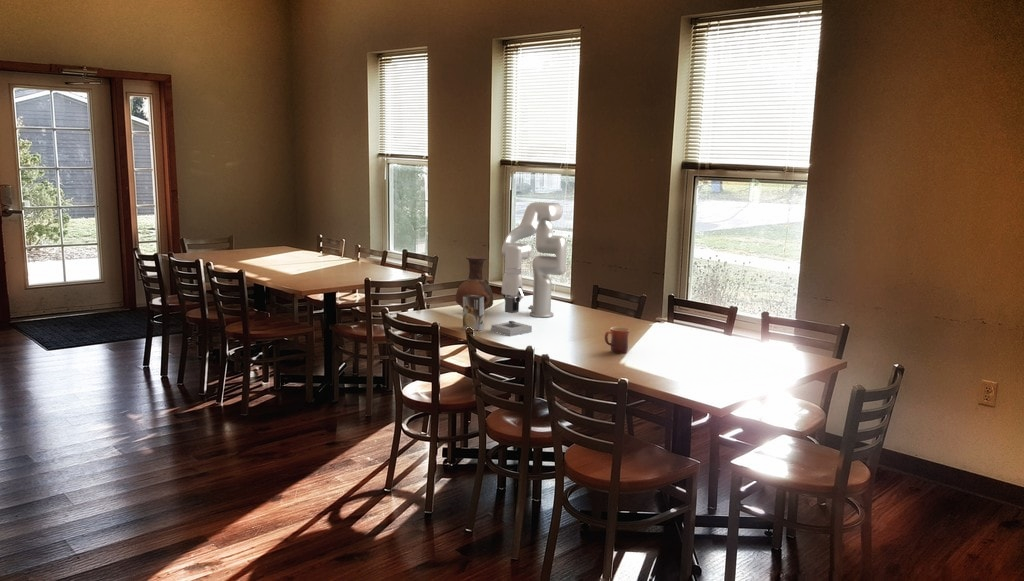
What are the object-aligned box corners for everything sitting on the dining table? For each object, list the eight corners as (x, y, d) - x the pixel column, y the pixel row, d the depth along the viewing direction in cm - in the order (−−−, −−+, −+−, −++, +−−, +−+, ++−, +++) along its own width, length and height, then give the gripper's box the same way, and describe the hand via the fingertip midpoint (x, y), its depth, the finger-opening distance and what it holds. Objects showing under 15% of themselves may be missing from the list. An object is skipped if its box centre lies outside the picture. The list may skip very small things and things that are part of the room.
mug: (621, 348, 350) (622, 326, 348) (633, 353, 342) (634, 330, 340) (598, 351, 344) (599, 328, 342) (610, 356, 337) (611, 332, 335)
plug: (504, 311, 375) (505, 296, 374) (511, 310, 378) (512, 295, 377) (511, 313, 372) (512, 297, 371) (518, 312, 375) (519, 296, 374)
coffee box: (484, 328, 382) (485, 295, 380) (479, 331, 377) (480, 297, 374) (467, 326, 386) (468, 294, 383) (461, 329, 380) (462, 296, 377)
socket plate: (491, 331, 377) (491, 323, 377) (512, 327, 387) (512, 320, 386) (510, 336, 368) (510, 328, 367) (531, 332, 378) (531, 324, 377)
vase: (504, 315, 414) (505, 258, 409) (474, 320, 401) (475, 261, 396) (473, 308, 432) (474, 253, 427) (444, 312, 419) (445, 255, 414)
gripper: (495, 269, 376) (493, 307, 379) (520, 274, 364) (518, 313, 367) (506, 268, 381) (505, 306, 384) (531, 272, 369) (530, 311, 372)
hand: (511, 309), depth 375 cm, fingers closed on plug, 4 cm apart
